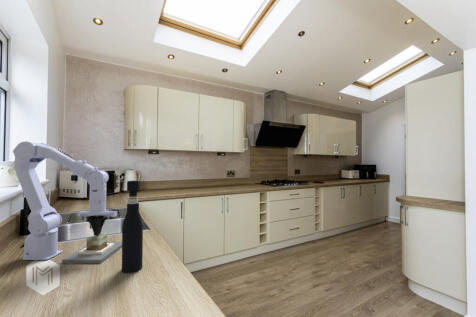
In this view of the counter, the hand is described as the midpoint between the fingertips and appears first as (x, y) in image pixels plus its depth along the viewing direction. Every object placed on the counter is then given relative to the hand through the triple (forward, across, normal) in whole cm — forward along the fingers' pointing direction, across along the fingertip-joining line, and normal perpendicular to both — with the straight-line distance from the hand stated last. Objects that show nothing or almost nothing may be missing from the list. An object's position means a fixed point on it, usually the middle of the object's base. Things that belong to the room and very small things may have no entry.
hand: (97, 234), depth 89 cm
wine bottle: (+7, +20, -13) cm, 25 cm away
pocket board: (+7, 0, 0) cm, 7 cm away
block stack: (+6, 0, 0) cm, 6 cm away
